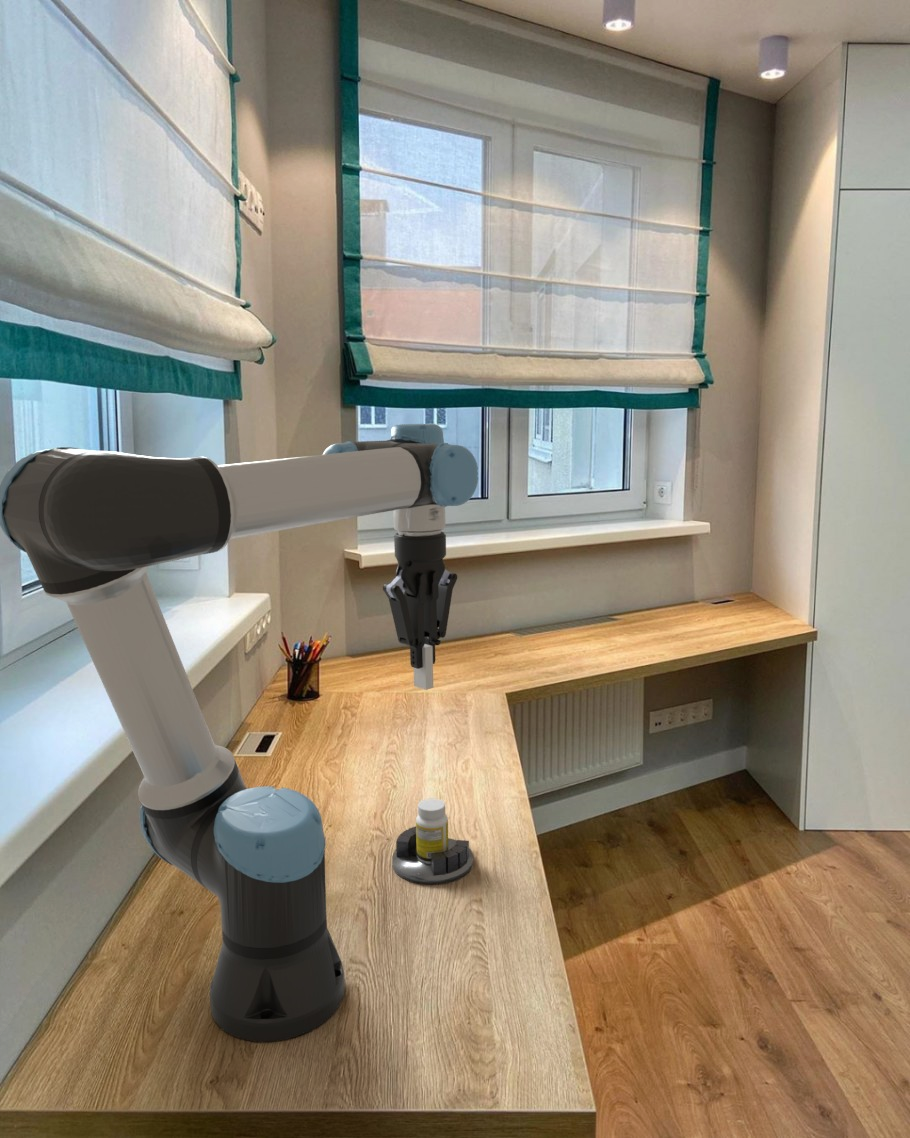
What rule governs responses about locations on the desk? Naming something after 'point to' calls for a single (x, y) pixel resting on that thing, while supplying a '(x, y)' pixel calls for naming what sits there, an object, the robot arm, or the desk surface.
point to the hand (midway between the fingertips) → (423, 686)
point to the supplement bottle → (431, 829)
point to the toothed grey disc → (442, 864)
